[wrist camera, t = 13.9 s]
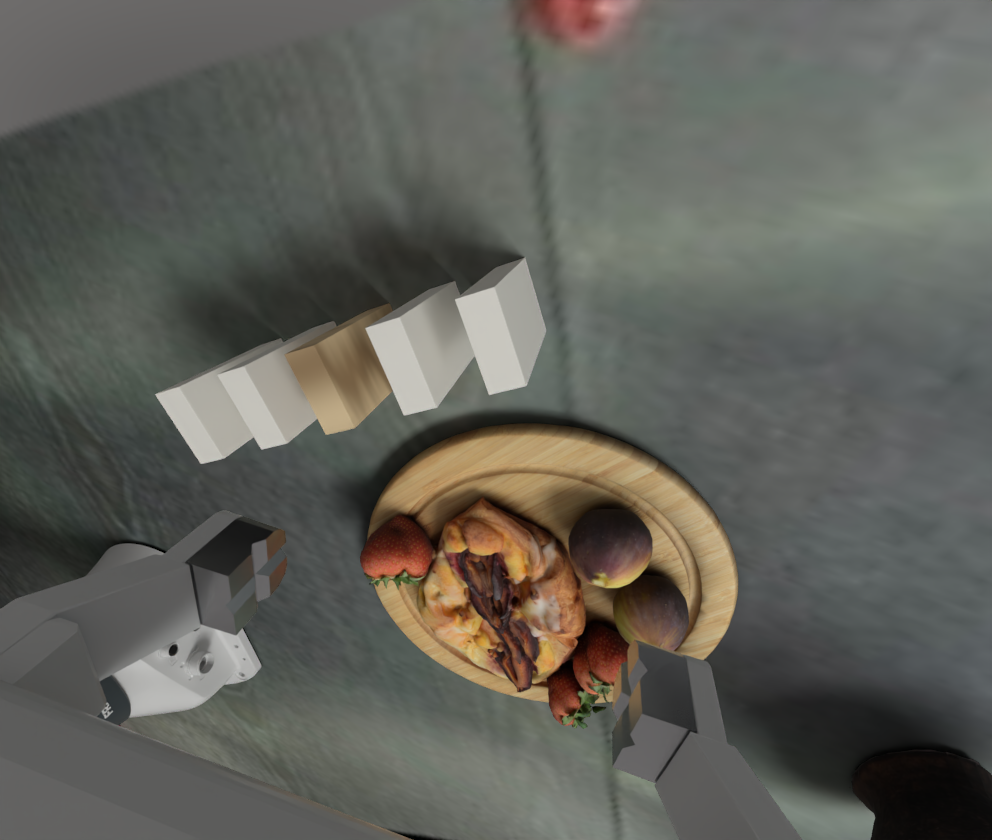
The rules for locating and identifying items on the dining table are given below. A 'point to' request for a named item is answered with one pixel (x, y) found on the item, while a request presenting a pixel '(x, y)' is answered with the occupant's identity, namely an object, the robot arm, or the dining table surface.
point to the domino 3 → (342, 372)
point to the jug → (926, 796)
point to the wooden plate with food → (548, 561)
